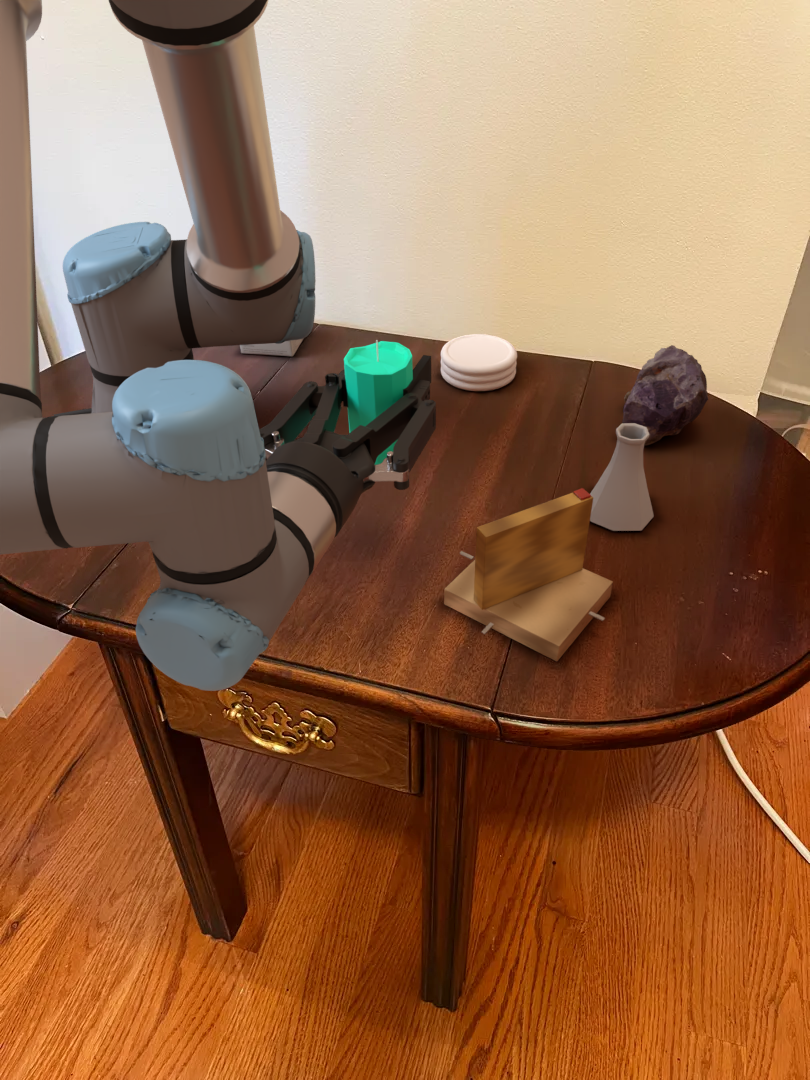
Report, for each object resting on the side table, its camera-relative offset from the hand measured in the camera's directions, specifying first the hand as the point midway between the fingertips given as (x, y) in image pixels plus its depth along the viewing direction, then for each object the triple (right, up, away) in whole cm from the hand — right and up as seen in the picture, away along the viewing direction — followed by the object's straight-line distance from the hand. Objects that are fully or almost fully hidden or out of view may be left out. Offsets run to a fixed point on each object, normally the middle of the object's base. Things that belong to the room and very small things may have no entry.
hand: (399, 364), depth 78 cm
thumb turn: (+12, -20, -1) cm, 24 cm away
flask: (+23, -14, +10) cm, 28 cm away
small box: (-18, +11, +41) cm, 46 cm away
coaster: (+10, +6, +33) cm, 35 cm away
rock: (+31, -3, +22) cm, 38 cm away
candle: (-2, -9, +1) cm, 9 cm away
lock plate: (+12, -22, 0) cm, 25 cm away
